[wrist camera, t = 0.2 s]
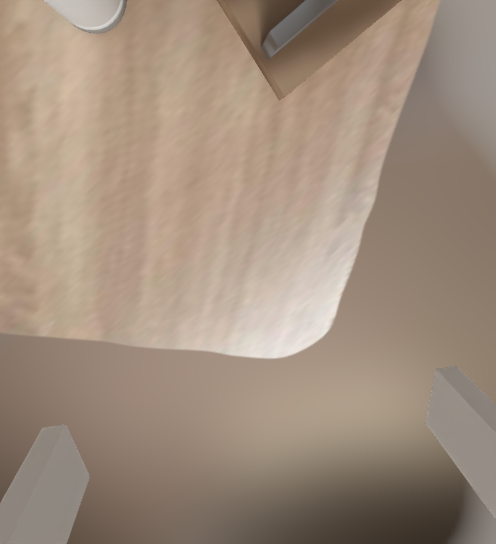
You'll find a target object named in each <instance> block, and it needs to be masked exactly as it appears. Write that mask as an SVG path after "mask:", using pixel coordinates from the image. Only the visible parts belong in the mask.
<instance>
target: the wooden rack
mask: <svg viewBox="0 0 496 544" xmlns="http://www.w3.org/2000/svg"><path fill="white" fill-rule="evenodd" d="M217 1H218V2H219V4H220V6H221V7H222V9H223V10H224V12H225V14H226V15H227V17H228V18H229V20H230V22H231V23H232V25H233V27H234V28H235V30H236V31H237V33H238V35H239V36H240V38H241V39H242V41H243V43H244V44H245V46H246V47H247V49H248V51H249V52H250V54H251V55H252V57H253V59H254V60H255V62H256V63H257V65H258V67H259V68H260V70H261V71H262V73H263V75H264V76H265V78H266V79H267V81H268V83H269V84H270V86H271V87H272V89H273V91H274V92H275V94H276V95H277V97H278V99H279V100H280V99H282V98H284V97H285V96H287V95H288V94H289V93H290V92H291V91H293V90H294V89H295V88H296V87H297V86H299V85H300V84H301V83H302V82H304V81H305V80H306V79H307V78H308V77H310V76H311V75H312V74H313V73H314V72H316V71H317V70H318V69H319V68H320V67H322V66H323V65H324V64H325V63H326V62H328V61H329V60H330V59H331V58H332V57H334V56H335V55H336V54H337V53H338V52H340V51H341V50H342V49H343V48H344V47H346V46H347V45H348V44H349V43H350V42H352V41H353V40H354V39H355V38H356V37H358V36H359V35H360V34H361V33H362V32H364V31H365V30H366V29H367V28H369V27H370V26H371V25H372V24H373V23H375V22H376V21H377V20H378V19H379V18H381V17H382V16H383V15H384V14H385V13H387V12H388V11H389V10H390V9H391V8H393V7H394V6H395V5H396V4H397V3H399V2H400V1H401V0H217Z"/></svg>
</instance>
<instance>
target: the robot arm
mask: <svg viewBox="0 0 496 544" xmlns="http://www.w3.org/2000/svg"><path fill="white" fill-rule="evenodd" d="M426 424H427V426H428V427H429V428H430V430H431V431H432V432H433V434H434V435H435V437H436V438H437V439H438V441H439V442H440V443H441V445H442V446H443V448H444V449H445V450H446V451H447V453H448V454H449V456H450V457H451V459H452V460H453V461H454V463H455V464H456V466H457V467H458V468H459V469H460V471H461V472H462V474H463V475H464V476H465V478H466V479H467V481H468V482H469V483H470V485H471V486H472V487H473V489H474V490H475V492H476V493H477V494H478V496H479V497H480V499H481V500H482V501H483V503H484V504H485V506H486V507H487V508H488V510H489V511H490V512H491V514H492V515H493V517H494V518H495V519H496V404H495V403H494V402H493V401H492V400H491V399H490V398H489V397H488V396H486V394H484V392H482V391H481V390H480V389H479V388H478V387H477V386H476V385H475V384H474V383H473V382H472V381H471V380H470V379H469V378H468V377H467V376H466V375H465V374H464V373H463V372H462V371H461V370H460V369H459V368H458V367H457V366H451V367H445V368H438V369H436V371H435V376H434V382H433V387H432V392H431V397H430V402H429V408H428V413H427V418H426ZM88 480H89V474H88V472H87V470H86V467H85V465H84V463H83V461H82V459H81V457H80V455H79V452H78V450H77V448H76V446H75V444H74V442H73V439H72V437H71V435H70V433H69V431H68V428H67V426H66V425H59V426H52V427H46V428H42V430H41V431H40V434H39V435H38V437H37V439H36V440H35V442H34V444H33V446H32V447H31V449H30V451H29V453H28V455H27V457H26V458H25V460H24V462H23V464H22V465H21V467H20V469H19V471H18V473H17V474H16V476H15V478H14V480H13V481H12V483H11V485H10V487H9V489H8V490H7V492H6V494H5V496H4V498H3V499H2V501H1V503H0V544H66V543H67V540H68V538H69V535H70V532H71V529H72V526H73V523H74V520H75V517H76V514H77V512H78V509H79V506H80V503H81V500H82V497H83V494H84V491H85V488H86V485H87V482H88Z"/></svg>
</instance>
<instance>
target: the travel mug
mask: <svg viewBox="0 0 496 544" xmlns="http://www.w3.org/2000/svg"><path fill="white" fill-rule="evenodd" d="M43 1H45V2H46V3H47V4H48V5H49V6H51V7H52V8H53V9H54V10H55V11H57V12H58V13H59V14H60V15H61V16H63V17H64V18H65V19H66V20H67V21H69V22H70V23H71V24H72V25H74V26H75V27H77V28H79V29H80V30H82V31H86V32H89V33H104V32H106V31H109V30H111V29H112V28H113V27H115V26H116V25H117V24H118V23H119V21H120V20H121V18H122V16H123V14H124V11H125V8H126V0H43Z"/></svg>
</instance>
